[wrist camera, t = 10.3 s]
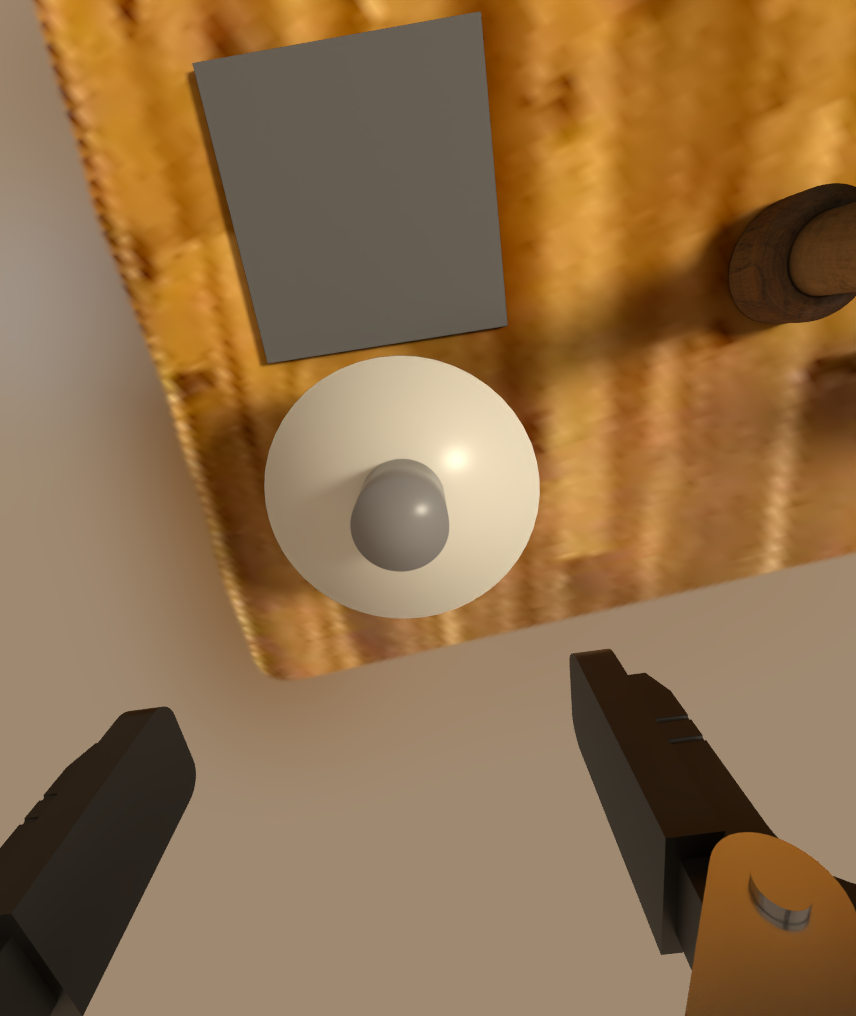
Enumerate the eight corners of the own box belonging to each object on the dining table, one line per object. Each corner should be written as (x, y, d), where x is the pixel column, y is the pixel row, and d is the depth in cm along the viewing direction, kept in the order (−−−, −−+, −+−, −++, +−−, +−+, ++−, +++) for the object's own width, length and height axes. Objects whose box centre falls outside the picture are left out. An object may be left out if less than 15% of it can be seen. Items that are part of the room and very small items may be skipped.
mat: (197, 68, 23) (192, 63, 23) (479, 18, 23) (480, 11, 22) (270, 363, 28) (267, 363, 27) (505, 326, 27) (507, 325, 27)
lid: (237, 380, 21) (192, 389, 17) (522, 333, 21) (549, 330, 17) (306, 624, 26) (284, 679, 21) (544, 589, 25) (569, 639, 21)
